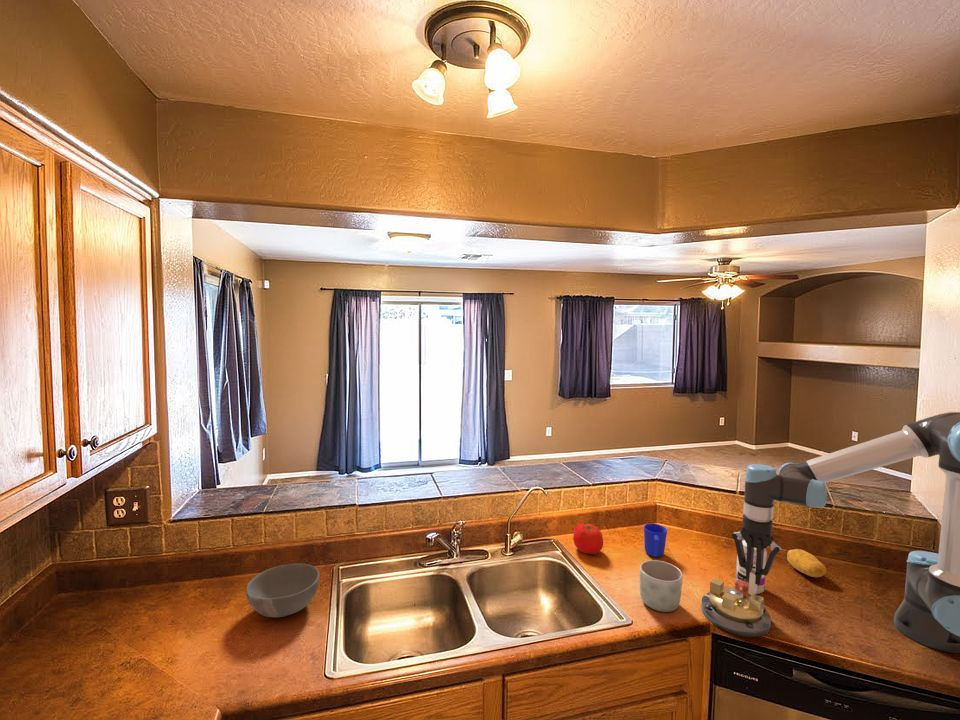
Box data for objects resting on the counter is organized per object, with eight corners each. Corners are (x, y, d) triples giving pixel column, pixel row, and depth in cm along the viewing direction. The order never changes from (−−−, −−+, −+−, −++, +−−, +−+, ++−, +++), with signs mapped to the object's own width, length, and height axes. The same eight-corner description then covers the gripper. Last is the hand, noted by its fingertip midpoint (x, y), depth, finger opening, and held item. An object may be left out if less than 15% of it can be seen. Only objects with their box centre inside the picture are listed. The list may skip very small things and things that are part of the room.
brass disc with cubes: (769, 608, 135) (770, 590, 135) (753, 630, 126) (755, 610, 125) (719, 588, 146) (720, 571, 145) (701, 606, 136) (702, 588, 136)
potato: (801, 562, 167) (802, 544, 167) (831, 583, 154) (832, 564, 153) (780, 562, 167) (782, 544, 167) (808, 584, 154) (810, 564, 153)
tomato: (584, 540, 182) (585, 516, 182) (610, 554, 172) (611, 528, 171) (564, 548, 176) (565, 522, 175) (589, 562, 166) (590, 535, 165)
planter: (687, 604, 141) (689, 571, 141) (670, 622, 133) (671, 586, 132) (650, 587, 150) (651, 555, 150) (631, 602, 142) (632, 569, 141)
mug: (643, 562, 166) (645, 535, 166) (642, 546, 178) (643, 522, 177) (668, 565, 164) (669, 539, 163) (664, 550, 176) (665, 525, 175)
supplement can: (756, 581, 155) (759, 539, 153) (769, 596, 146) (772, 551, 145) (731, 579, 155) (733, 537, 154) (742, 594, 147) (745, 549, 146)
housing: (778, 617, 135) (780, 593, 135) (759, 646, 123) (760, 620, 123) (714, 591, 149) (715, 569, 148) (691, 614, 136) (692, 590, 136)
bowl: (333, 596, 143) (333, 566, 143) (289, 639, 124) (288, 604, 123) (280, 585, 149) (279, 556, 148) (230, 624, 130) (229, 591, 129)
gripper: (786, 520, 133) (781, 597, 135) (738, 506, 142) (733, 578, 144) (779, 528, 128) (773, 608, 130) (729, 513, 137) (724, 588, 139)
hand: (752, 592), depth 137 cm, fingers closed
